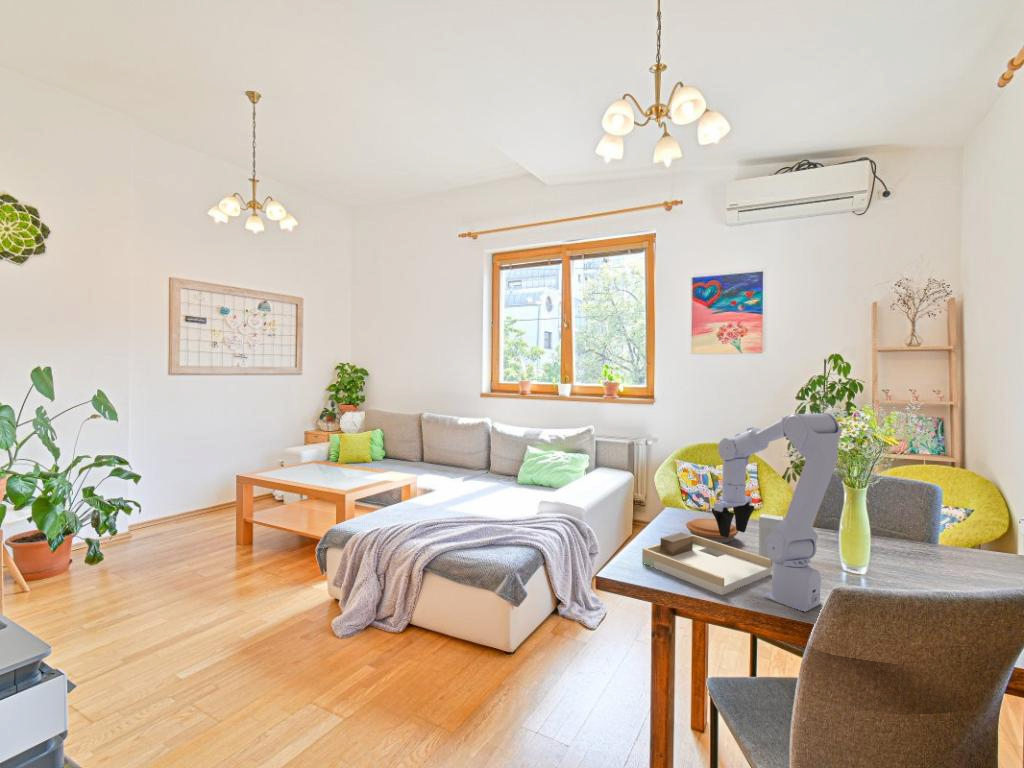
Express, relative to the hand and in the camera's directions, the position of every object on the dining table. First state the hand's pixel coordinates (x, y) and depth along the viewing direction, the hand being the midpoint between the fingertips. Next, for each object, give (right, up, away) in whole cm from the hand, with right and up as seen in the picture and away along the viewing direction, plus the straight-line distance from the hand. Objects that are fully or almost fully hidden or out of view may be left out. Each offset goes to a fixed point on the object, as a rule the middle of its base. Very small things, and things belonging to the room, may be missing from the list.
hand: (732, 533), depth 138 cm
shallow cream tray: (-7, -9, 0) cm, 12 cm away
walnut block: (-13, -7, +8) cm, 16 cm away
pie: (+4, -9, +25) cm, 27 cm away
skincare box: (+14, -10, +8) cm, 19 cm away
